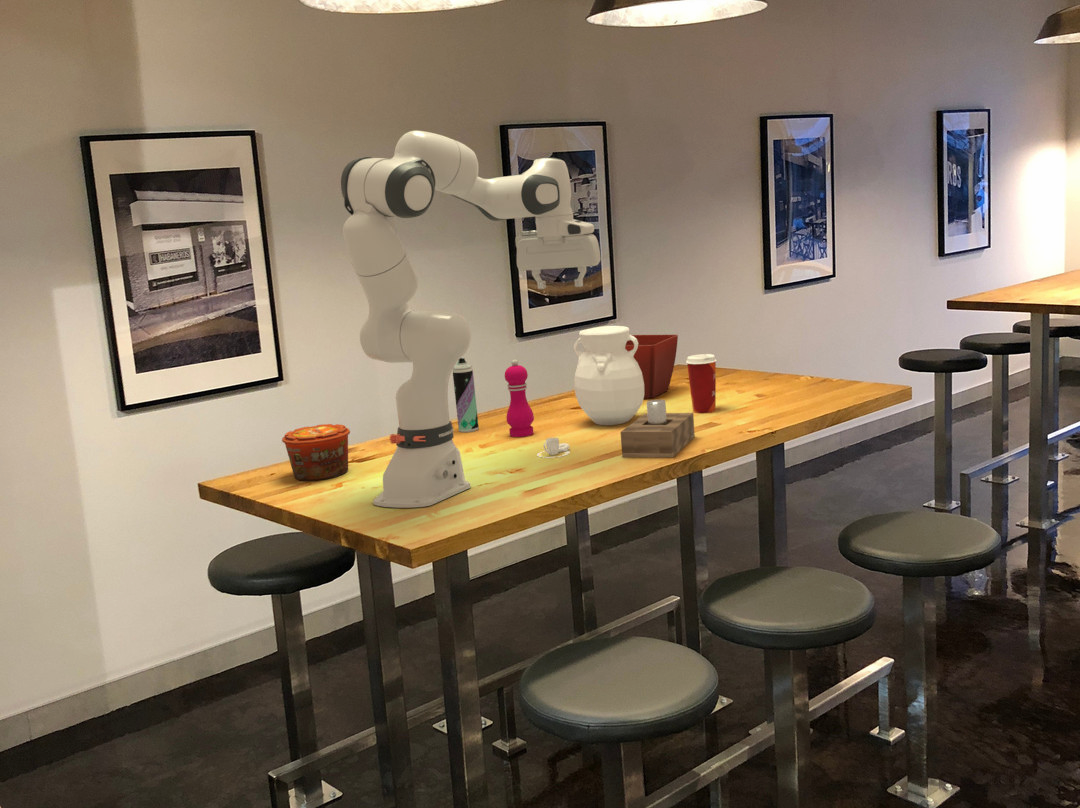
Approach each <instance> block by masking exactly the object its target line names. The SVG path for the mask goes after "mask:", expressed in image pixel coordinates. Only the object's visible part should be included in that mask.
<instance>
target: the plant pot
mask: <svg viewBox="0 0 1080 808" xmlns="http://www.w3.org/2000/svg"><path fill="white" fill-rule="evenodd" d="M631 335H632V336H634V337H635V338H636V339H637V341H638V348H637V350H636V352H635V354H634V356H633V357H634V359H635V360H636V361H637V363H638V365H639V367H640V369H641V372H642V376H643V381H644V398H643V400H653V399H654V398H656V397H658V396H660V395H661V394H664V393H666V392H668V391H669V388H670V384H671V380H672V376H673V373H674V367H675V363H676V358H677V357H676V355H677V349H678V348H677V347H678V340H679V334H631ZM633 348H634V343H633V341H632V340H629V341H627V343H626V345H625V349H626V350H627V351H628V352H629V351H631V350H633Z"/></svg>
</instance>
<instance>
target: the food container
mask: <svg viewBox="0 0 1080 808" xmlns="http://www.w3.org/2000/svg"><path fill="white" fill-rule="evenodd" d="M350 434H351V430H350V428H347V427H346V425H345V424H340V423H339V424H338V423H337V424H332V423H326V424H325V423H324V424H323V423H322V424H317V425H314V426H313V425H312V426H304V427H300V428H296V429H294V430H293V431H292V430H289V431H288V432H286V433H285V434H284V436H283V437H281V442H282V443H284V445H285V449H286V452H287V453H286V454H287V456H288V459H289V463H290V465H291V466H290V467H291V470H292V473H293V476H294V477H293V478H294V479H295V480H297V481H300V482H302V481H304V482H306V481H307V482H310V481H312V482H314V481H320V480H321V481H322V480H328V479H332V478H336V477H339V476H342V475H343V474H345V473H347V472H348V470H349V435H350Z"/></svg>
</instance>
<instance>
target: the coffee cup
mask: <svg viewBox="0 0 1080 808" xmlns="http://www.w3.org/2000/svg"><path fill="white" fill-rule="evenodd" d="M717 361H718V360H717V359H716V356H715V354H712V353H702V354H701V353H700V354H693V355H689V356H687V358H686V361H685V363H686V364H687V372H688V380H689V389H690V396H691V397H690V398H691V405H692V406H691V407H692V411H693V412H692V413H696V414H707V413H709V414H710V413H713V412H715V411H716V404H717V403H716V399H717V398H716V397H717V395H716V392H717V391H716V386H717V385H716V384H717V383H716V375H717V374H716V369H717V366H716V365H717V364H716V362H717Z"/></svg>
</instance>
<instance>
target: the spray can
mask: <svg viewBox="0 0 1080 808" xmlns="http://www.w3.org/2000/svg"><path fill="white" fill-rule="evenodd" d="M452 378H453V380H452V381H453V388H454V390H453V391H454V397H455V406H456V407H455V408H456V416H457V425H458V432H460V433H472V432H476V430H477V431H479V418H478V409H477V407H478V406H477V399H476V388H475V378H474V369H473V365H470V364H469V363H468V361H466V360H465V357H461V358H460V359H459V360H458V361H457V362H456V364H455V365H454V367H453V369H452Z"/></svg>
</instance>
